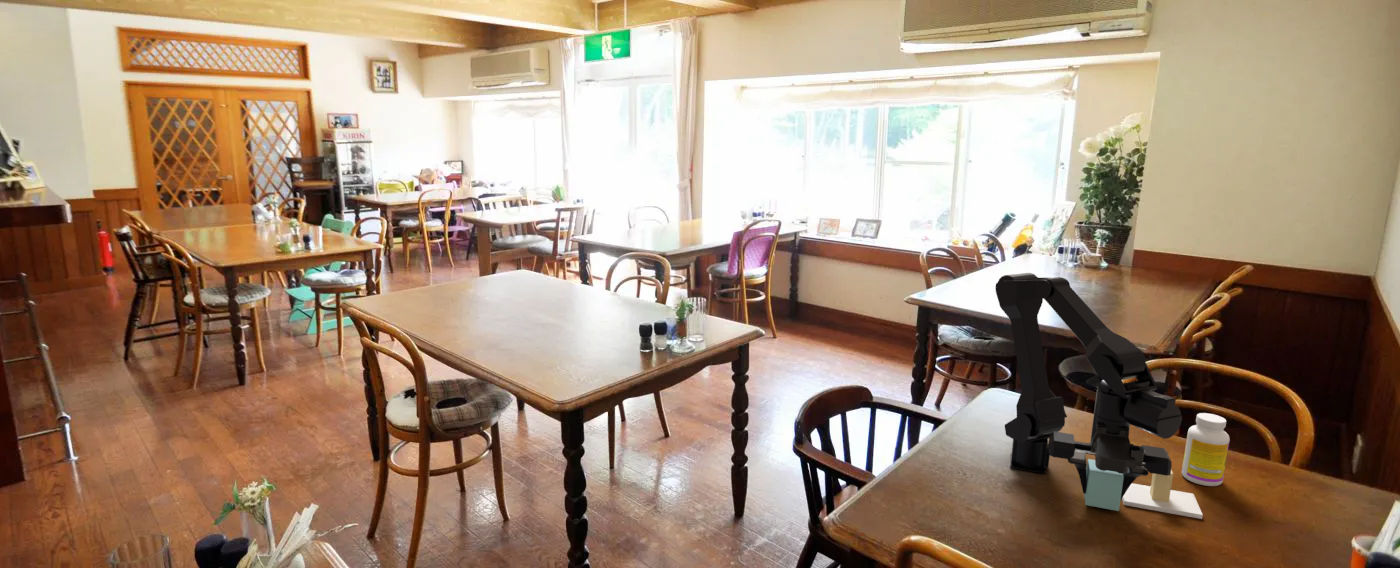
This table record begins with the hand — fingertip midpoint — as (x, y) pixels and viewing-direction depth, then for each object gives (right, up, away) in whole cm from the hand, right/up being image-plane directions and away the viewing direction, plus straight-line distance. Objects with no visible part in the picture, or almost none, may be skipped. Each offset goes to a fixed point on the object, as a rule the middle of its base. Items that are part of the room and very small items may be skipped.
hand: (1101, 495), depth 130 cm
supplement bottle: (+25, 0, +10) cm, 27 cm away
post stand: (+12, -2, +2) cm, 12 cm away
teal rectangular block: (0, -1, 0) cm, 1 cm away
